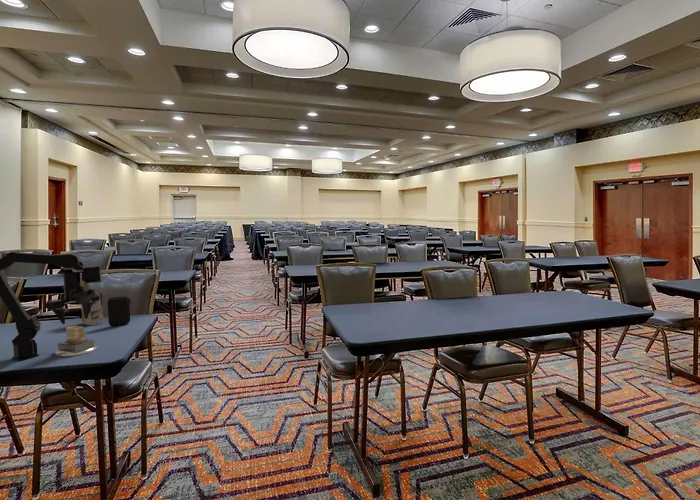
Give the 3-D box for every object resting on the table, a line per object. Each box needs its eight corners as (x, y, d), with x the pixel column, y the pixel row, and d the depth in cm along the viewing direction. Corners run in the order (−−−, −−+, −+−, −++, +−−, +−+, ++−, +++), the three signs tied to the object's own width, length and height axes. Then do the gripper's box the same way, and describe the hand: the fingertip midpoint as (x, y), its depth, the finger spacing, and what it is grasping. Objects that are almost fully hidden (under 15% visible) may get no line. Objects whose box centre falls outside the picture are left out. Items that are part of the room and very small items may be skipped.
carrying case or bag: (132, 322, 213) (130, 295, 212) (133, 323, 210) (131, 295, 209) (108, 326, 206) (106, 297, 205) (109, 327, 204) (107, 298, 203)
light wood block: (76, 350, 166) (75, 329, 165) (67, 349, 168) (66, 327, 168) (85, 348, 169) (84, 327, 168) (75, 346, 172) (74, 325, 171)
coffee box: (104, 322, 213) (102, 292, 212) (91, 325, 207) (89, 294, 206) (93, 320, 217) (92, 291, 216) (81, 323, 212) (79, 293, 210)
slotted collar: (70, 358, 160) (69, 349, 159) (47, 353, 165) (46, 344, 165) (104, 347, 173) (104, 338, 172) (82, 343, 178) (81, 335, 178)
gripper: (61, 289, 155) (64, 329, 156) (107, 281, 172) (109, 317, 173) (43, 287, 159) (46, 326, 161) (89, 280, 176) (91, 315, 178)
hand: (75, 321), depth 168 cm, fingers open, 9 cm apart
